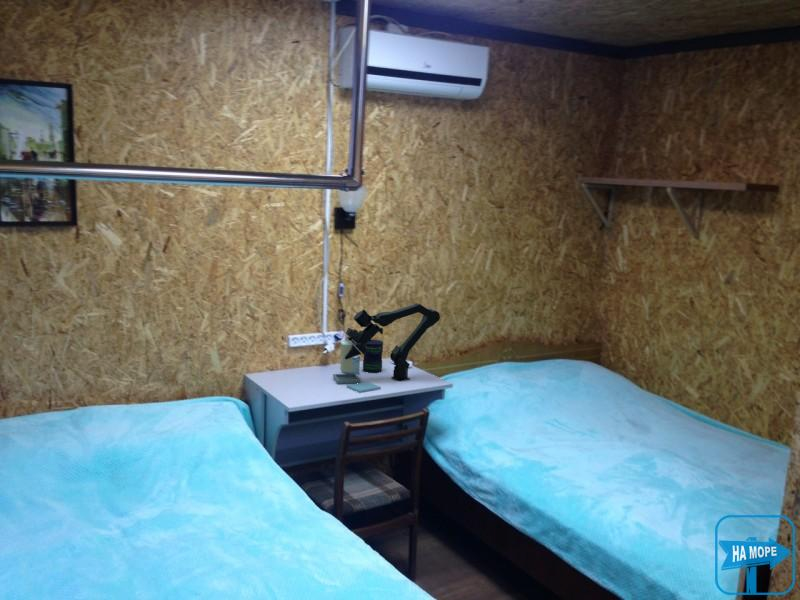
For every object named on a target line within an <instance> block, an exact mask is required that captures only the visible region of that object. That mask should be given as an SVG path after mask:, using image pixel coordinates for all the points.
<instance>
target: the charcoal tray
mask: <svg viewBox="0 0 800 600" xmlns="http://www.w3.org/2000/svg"><path fill="white" fill-rule="evenodd" d="M333 378H334V379H333ZM332 379H333V380H334V381H336V382H335V383H336V384H337V385H352V384H357V383H361V379H360V377H358V374H347V373H335V374H332Z"/></svg>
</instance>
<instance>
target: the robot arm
mask: <svg viewBox="0 0 800 600" xmlns="http://www.w3.org/2000/svg"><path fill="white" fill-rule="evenodd" d="M417 313H419V314H421V315H422V318H421V320H420V323H418V325H417V326H416V327H415V329H414V330H413V331H412V332H411V333H410V334H409V336H408V337H407V338H406V340H405V341H404V342H403V343H402V344H401V345H399V346H398V345H397V344H396V345H395V346H394V347H393V349H392V350H391V351H390V352H391V353H390V355H389V357H390V360H391V361H392V362H393V364H394V366H393V373H392V375H393V376H391V379H393V380H397V381H398V382H401V381H407V380H410V377H408V376H409V375H408V374H409V373H408V372H409V368H410V363H409V361H407V358H408V356H409V353H410V351H411V350H412V348H414V346H415V345H416V344H417V342H418V341H419V340H420V339H421V337H422V336H424V334H425V333H426V331H427V330H429V328H431V327H433V326H435V324H437V323H438V322H439V321H440V319H441V314H440V313H439V312H438V311H437V310H435V309H432V308H427V307H425V306H423V305H422V304H421V303H417V302H415V303H414V304H412V305H408V306H405V307H401V308H399V309H395V310H393V311H382V312H378V313H376V314H373V315H370V314H369V313H368V312H367V310H366V309H362V310H361V311H359V312H357V313H356V314H355V315H354V316H353V320H354V321H355V323H357V324H358V325H359V326H360V328H363V329H362V330H359V331H358V330H357V329H355V328H353V329H352V328H350V327H347V330H346V331H345V335H347V337H346V339H347V340H348V341H351V342H352V343H354V346H353V345H352V349H351V350H350V351H349V353H348V354H347V355H346V357H345V359H349V358H352V357H354V356H360V355H363V356H364V355H365V354H366V353H367V349H366V348H365V345H366V344H367V343H368V342H371V340H373V338H374V337H375V336H376V335H377V334H378V333H380V334H381V335H383V334H384V328H383V327H385V328H386V327H387V326H389V325H391V324H393V323H394V322H395V321H397V320H399V319H400V320H401V319H403V318H406V317H410V316H412V315H415V314H417Z"/></svg>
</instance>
